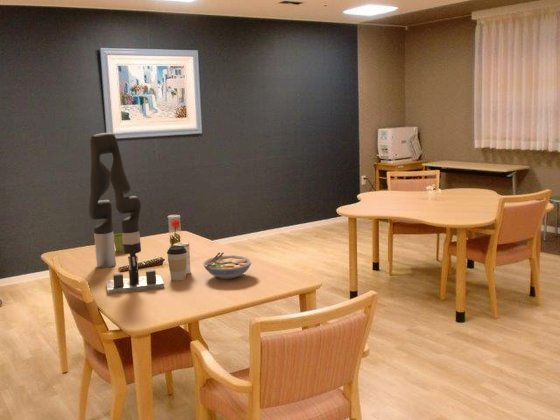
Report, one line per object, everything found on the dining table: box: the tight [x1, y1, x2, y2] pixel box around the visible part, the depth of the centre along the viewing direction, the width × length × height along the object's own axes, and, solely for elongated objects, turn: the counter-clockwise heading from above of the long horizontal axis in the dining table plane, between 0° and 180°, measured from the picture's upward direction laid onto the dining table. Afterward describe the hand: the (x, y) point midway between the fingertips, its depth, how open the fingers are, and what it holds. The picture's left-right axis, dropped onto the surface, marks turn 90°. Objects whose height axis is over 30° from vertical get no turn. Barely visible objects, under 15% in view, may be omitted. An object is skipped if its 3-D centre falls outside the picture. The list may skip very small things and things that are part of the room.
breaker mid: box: [128, 267, 140, 281], centre depth 266 cm, size 2×4×6 cm, turn 108°
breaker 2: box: [145, 269, 157, 283], centre depth 262 cm, size 2×4×5 cm, turn 108°
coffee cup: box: [166, 245, 187, 281], centre depth 273 cm, size 9×9×15 cm
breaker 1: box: [112, 272, 124, 287], centre depth 258 cm, size 2×4×5 cm, turn 108°
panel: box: [106, 274, 165, 296], centre depth 263 cm, size 14×24×2 cm, turn 108°
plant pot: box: [113, 233, 124, 253], centre depth 327 cm, size 9×9×9 cm
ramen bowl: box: [202, 252, 253, 280], centre depth 273 cm, size 25×23×8 cm
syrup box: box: [172, 241, 192, 275], centre depth 280 cm, size 6×6×14 cm
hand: (134, 280), depth 262 cm, fingers closed
